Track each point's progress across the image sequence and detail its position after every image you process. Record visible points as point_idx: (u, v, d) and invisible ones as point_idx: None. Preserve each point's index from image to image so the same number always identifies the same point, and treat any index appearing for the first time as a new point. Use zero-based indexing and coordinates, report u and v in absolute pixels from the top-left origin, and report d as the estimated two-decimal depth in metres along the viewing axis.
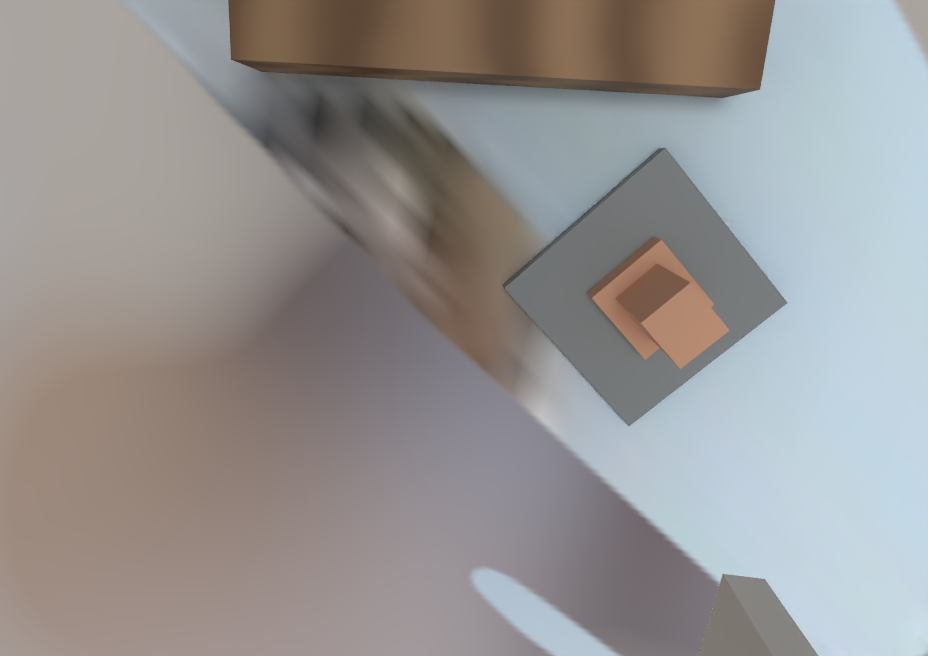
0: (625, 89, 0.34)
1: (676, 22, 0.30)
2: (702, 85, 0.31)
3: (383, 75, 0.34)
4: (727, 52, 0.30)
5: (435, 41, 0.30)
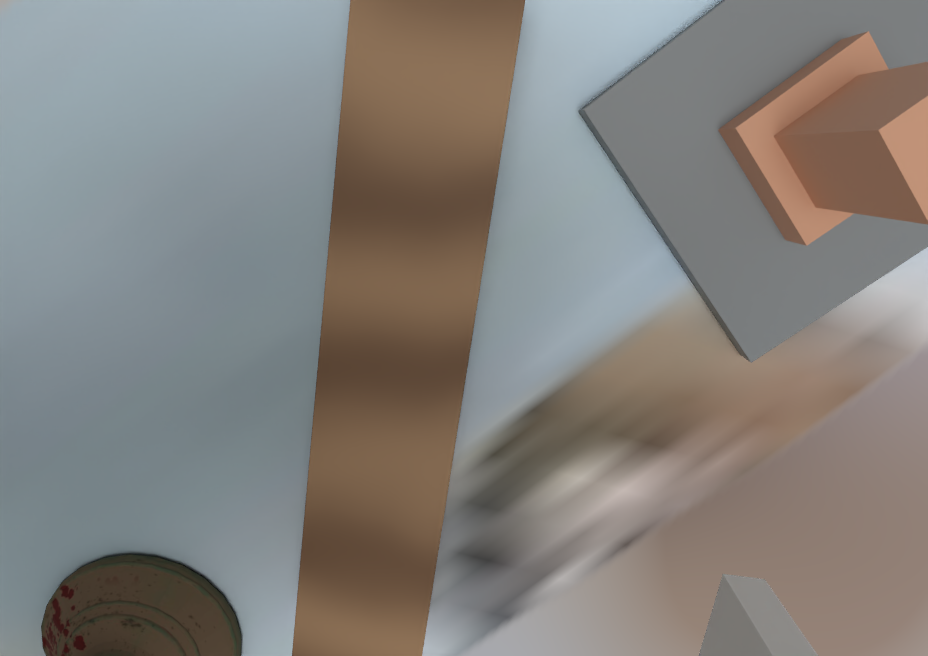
0: None
1: (413, 119, 0.19)
2: (511, 75, 0.19)
3: None
4: (465, 32, 0.18)
5: (413, 465, 0.22)
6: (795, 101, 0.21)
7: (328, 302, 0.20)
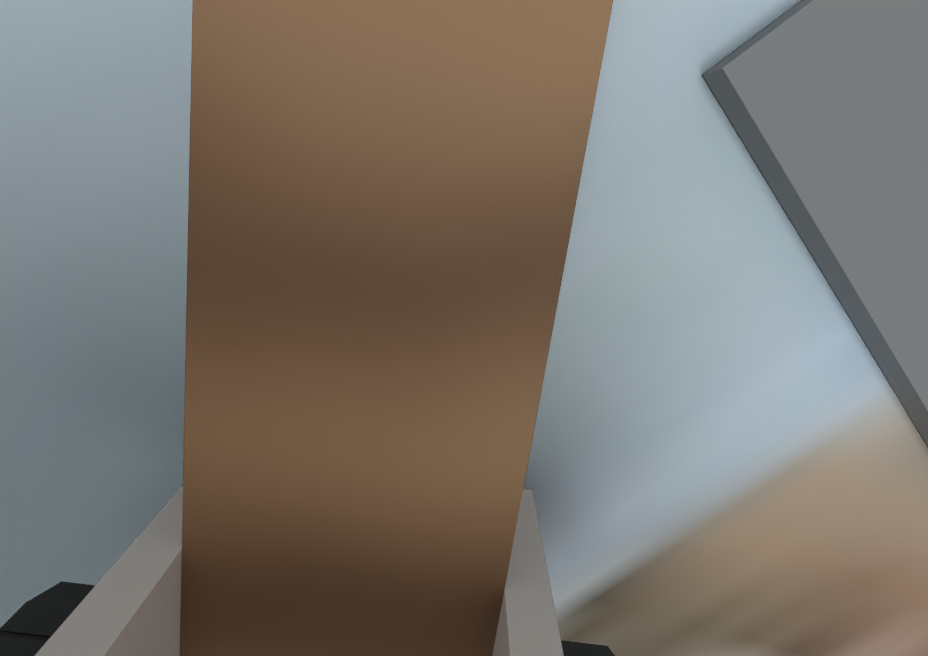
0: None
1: (371, 76, 0.08)
2: None
3: None
4: None
5: None
6: None
7: (193, 489, 0.09)
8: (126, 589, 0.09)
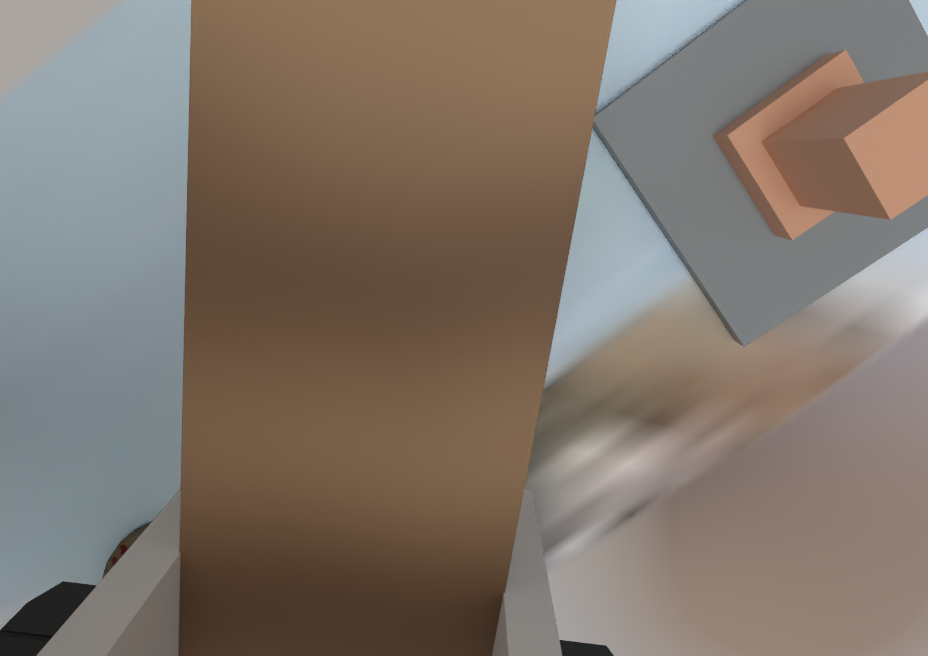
0: None
1: (371, 74, 0.08)
2: None
3: None
4: None
5: None
6: (780, 111, 0.23)
7: (191, 491, 0.09)
8: (127, 589, 0.09)
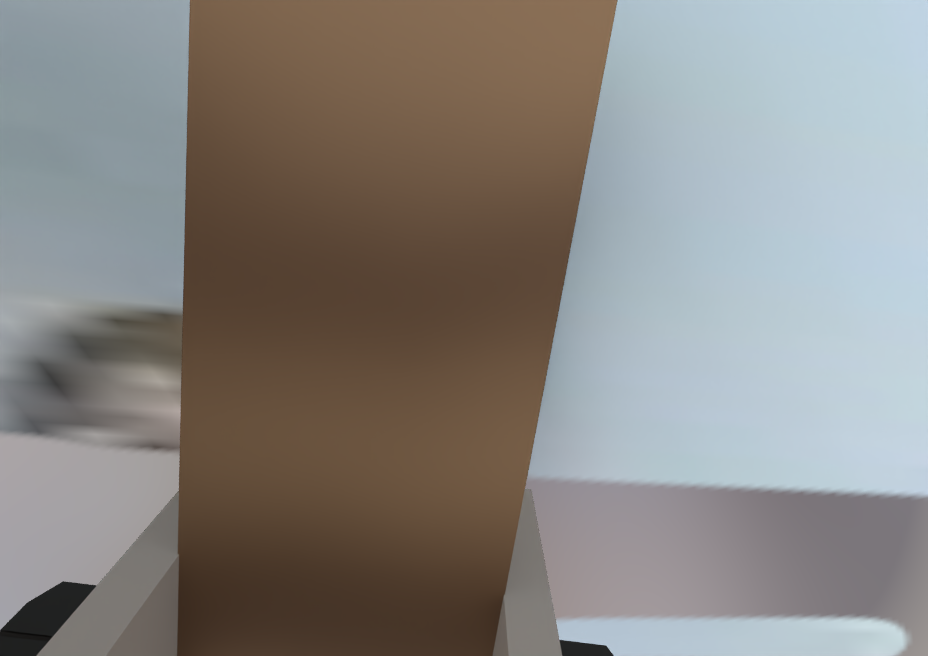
0: None
1: (371, 77, 0.08)
2: None
3: None
4: None
5: None
6: None
7: (189, 494, 0.09)
8: (127, 589, 0.09)
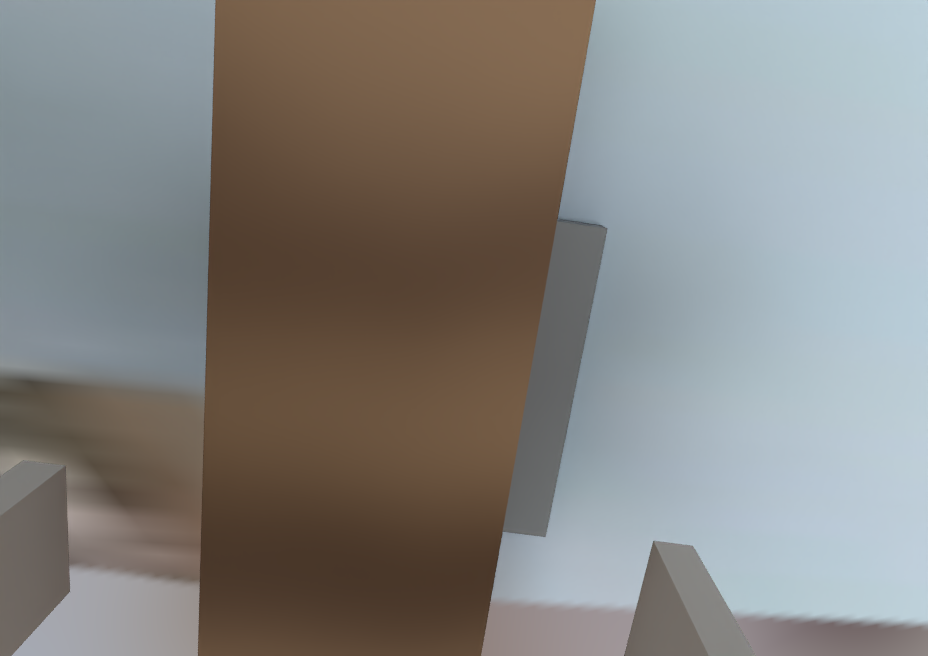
0: None
1: (375, 82, 0.09)
2: None
3: None
4: None
5: None
6: None
7: (212, 460, 0.10)
8: None
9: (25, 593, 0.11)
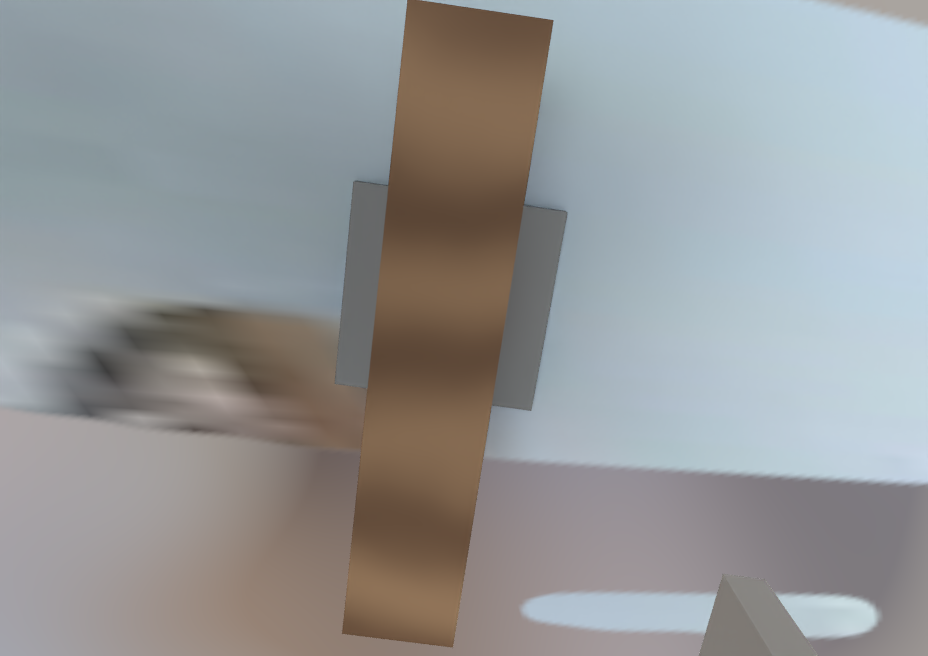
0: None
1: (454, 145, 0.22)
2: (538, 107, 0.22)
3: None
4: (498, 71, 0.22)
5: (452, 443, 0.25)
6: None
7: (380, 301, 0.24)
8: None
9: None
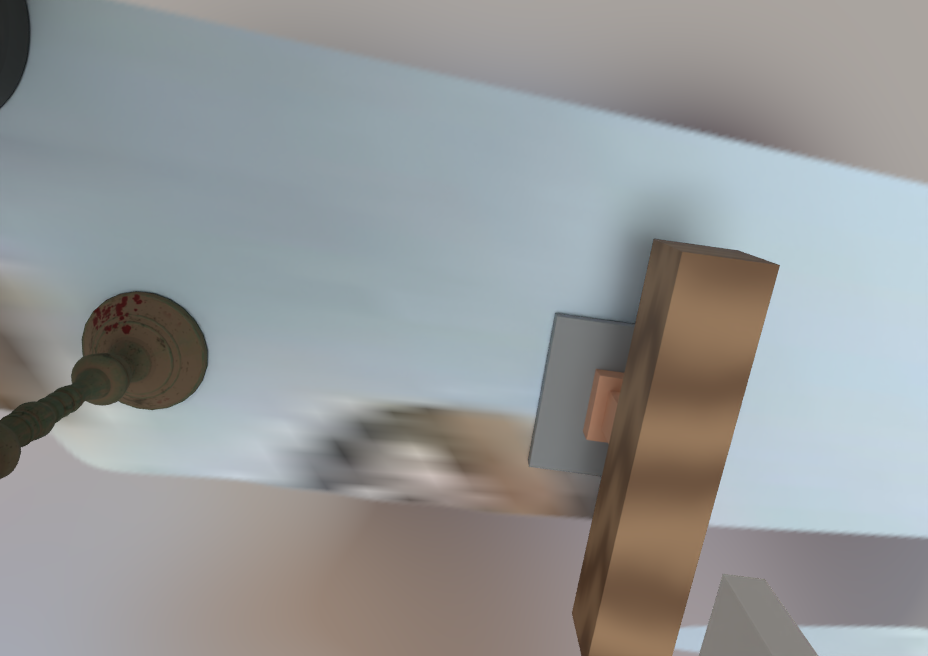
0: None
1: (704, 342, 0.32)
2: (763, 319, 0.32)
3: None
4: (739, 296, 0.32)
5: (680, 537, 0.36)
6: None
7: (641, 443, 0.34)
8: None
9: None
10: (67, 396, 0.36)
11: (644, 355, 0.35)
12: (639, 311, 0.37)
